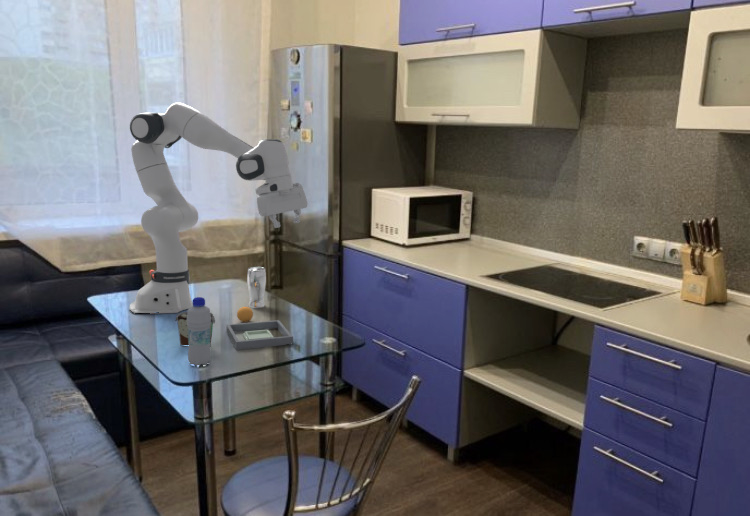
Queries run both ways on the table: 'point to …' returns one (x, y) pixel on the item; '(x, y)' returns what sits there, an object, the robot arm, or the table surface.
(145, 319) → the table surface
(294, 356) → the table surface
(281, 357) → the table surface
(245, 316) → the ball
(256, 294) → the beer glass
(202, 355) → the bottle
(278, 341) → the low wall pen
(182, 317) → the food container
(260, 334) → the resting pad
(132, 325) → the table surface
